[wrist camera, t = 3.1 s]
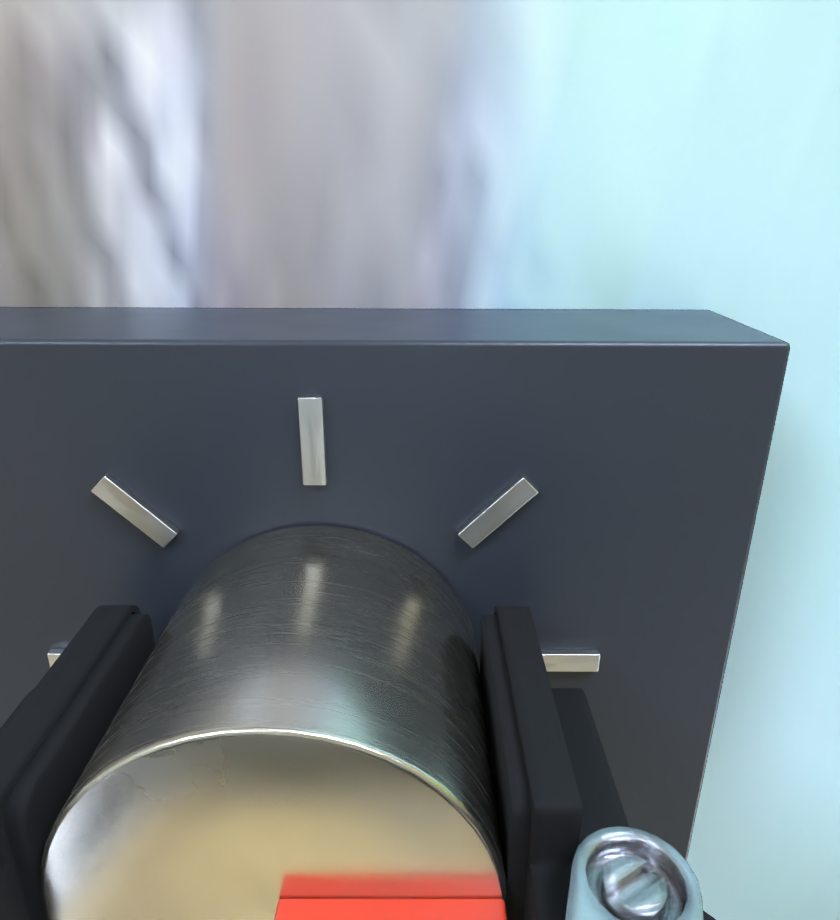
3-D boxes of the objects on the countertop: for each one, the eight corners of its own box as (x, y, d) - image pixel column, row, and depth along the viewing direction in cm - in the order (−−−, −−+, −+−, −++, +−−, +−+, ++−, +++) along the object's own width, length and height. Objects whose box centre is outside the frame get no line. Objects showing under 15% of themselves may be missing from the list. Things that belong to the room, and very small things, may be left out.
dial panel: (62, 766, 17) (-15, 890, 14) (-49, 306, 13) (-190, 341, 10) (640, 767, 17) (687, 889, 14) (711, 308, 13) (799, 345, 10)
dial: (191, 774, 13) (70, 1087, 8) (153, 522, 11) (-30, 753, 6) (471, 774, 13) (500, 1085, 8) (481, 523, 11) (526, 755, 6)
